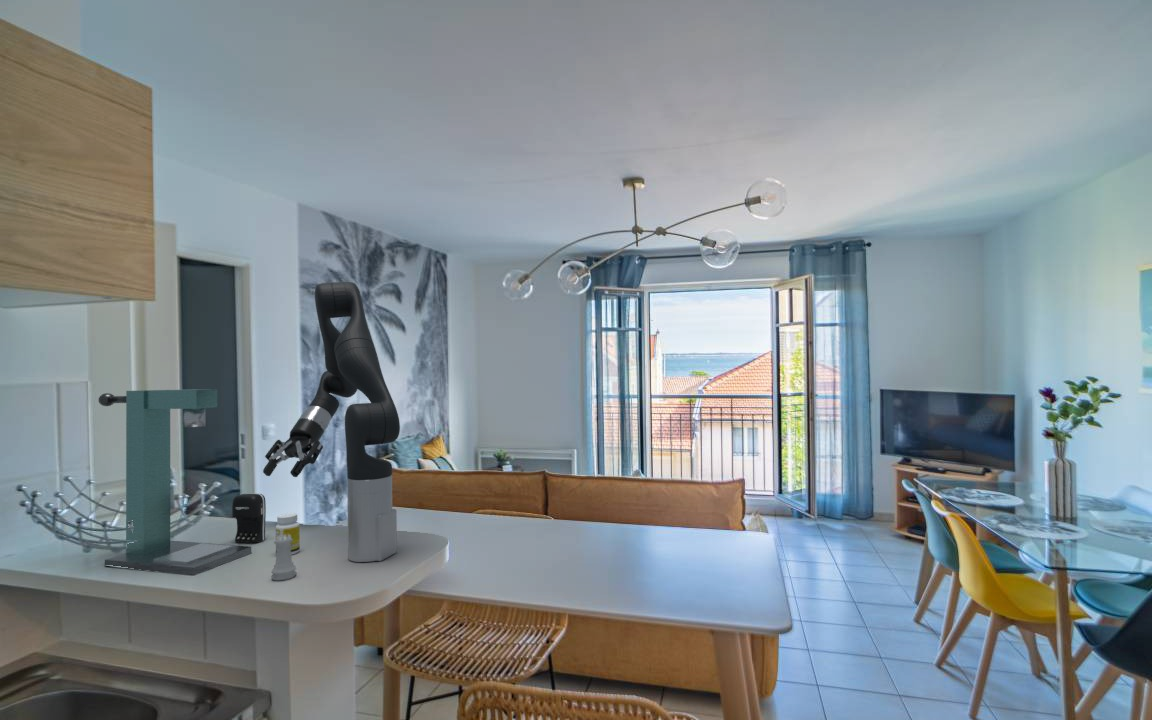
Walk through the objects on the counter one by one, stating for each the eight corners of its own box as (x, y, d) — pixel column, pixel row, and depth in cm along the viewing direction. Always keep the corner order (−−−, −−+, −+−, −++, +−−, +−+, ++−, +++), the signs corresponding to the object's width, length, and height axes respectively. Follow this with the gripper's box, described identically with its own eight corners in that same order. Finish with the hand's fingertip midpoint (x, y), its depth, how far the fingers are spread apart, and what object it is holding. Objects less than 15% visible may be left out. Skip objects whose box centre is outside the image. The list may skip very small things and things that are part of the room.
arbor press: (251, 553, 125) (250, 388, 126) (193, 575, 112) (193, 390, 113) (133, 543, 134) (133, 390, 135) (66, 563, 121) (67, 392, 122)
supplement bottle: (304, 549, 127) (303, 512, 127) (291, 556, 123) (291, 517, 123) (284, 549, 128) (283, 512, 128) (270, 556, 123) (270, 517, 123)
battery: (229, 544, 133) (229, 495, 133) (241, 539, 137) (241, 492, 137) (254, 545, 132) (254, 496, 132) (266, 540, 135) (266, 492, 136)
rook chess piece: (290, 571, 113) (290, 531, 113) (300, 576, 110) (300, 535, 110) (267, 578, 109) (266, 537, 110) (276, 583, 107) (276, 540, 107)
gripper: (282, 417, 155) (248, 465, 143) (326, 417, 151) (294, 466, 140) (297, 434, 160) (265, 482, 148) (339, 434, 156) (310, 484, 145)
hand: (279, 474), depth 144 cm, fingers open, 8 cm apart
